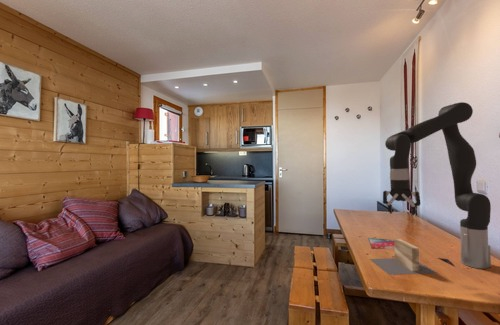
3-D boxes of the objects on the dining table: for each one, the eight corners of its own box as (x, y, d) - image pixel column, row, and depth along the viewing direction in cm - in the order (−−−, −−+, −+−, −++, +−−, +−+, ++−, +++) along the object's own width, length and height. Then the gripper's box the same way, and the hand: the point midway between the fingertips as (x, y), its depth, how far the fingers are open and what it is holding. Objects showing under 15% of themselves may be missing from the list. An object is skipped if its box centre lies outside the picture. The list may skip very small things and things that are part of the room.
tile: (401, 259, 113) (400, 239, 113) (419, 271, 101) (419, 248, 101) (394, 260, 113) (394, 239, 113) (412, 271, 101) (411, 248, 101)
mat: (411, 259, 115) (411, 257, 115) (438, 275, 99) (438, 273, 99) (369, 261, 115) (369, 259, 115) (388, 276, 99) (388, 274, 99)
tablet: (403, 241, 143) (403, 240, 143) (415, 257, 119) (415, 255, 119) (367, 238, 150) (367, 237, 150) (372, 252, 126) (372, 251, 126)
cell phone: (412, 256, 120) (412, 254, 120) (448, 261, 114) (448, 259, 114) (415, 262, 113) (415, 260, 113) (454, 267, 107) (454, 265, 107)
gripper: (419, 177, 105) (421, 214, 105) (383, 177, 115) (385, 211, 115) (417, 179, 100) (420, 217, 100) (380, 179, 109) (382, 214, 109)
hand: (401, 214), depth 107 cm, fingers open, 8 cm apart
